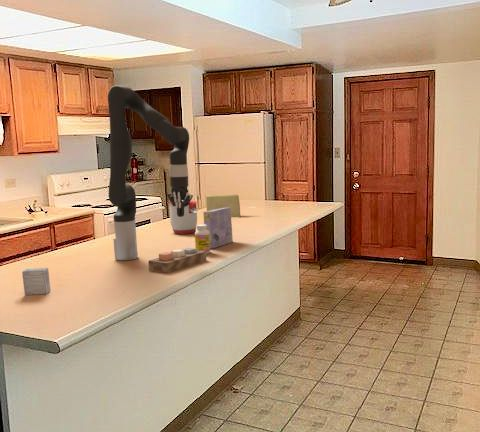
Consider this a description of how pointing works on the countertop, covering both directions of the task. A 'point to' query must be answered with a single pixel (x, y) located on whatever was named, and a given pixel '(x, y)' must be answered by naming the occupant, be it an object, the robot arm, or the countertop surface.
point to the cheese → (224, 203)
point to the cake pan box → (219, 226)
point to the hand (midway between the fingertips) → (180, 216)
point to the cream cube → (178, 253)
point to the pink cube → (165, 256)
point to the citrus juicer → (184, 218)
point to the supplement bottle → (202, 238)
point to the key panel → (177, 262)
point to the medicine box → (36, 281)
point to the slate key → (189, 250)
